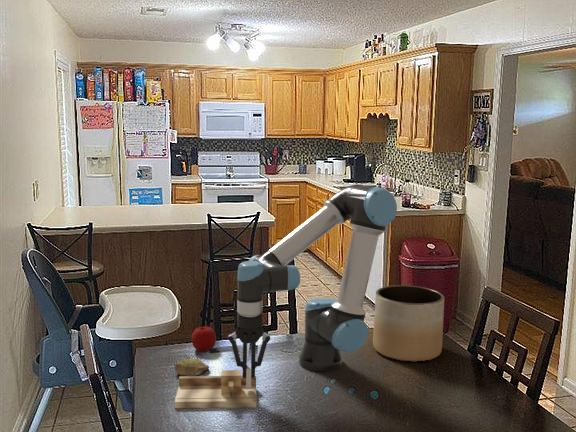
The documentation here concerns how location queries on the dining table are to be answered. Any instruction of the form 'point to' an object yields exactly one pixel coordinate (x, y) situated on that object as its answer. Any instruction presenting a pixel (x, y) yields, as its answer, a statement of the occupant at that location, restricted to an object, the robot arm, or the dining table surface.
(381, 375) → the dining table surface
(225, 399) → the board
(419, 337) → the planter
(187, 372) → the rock
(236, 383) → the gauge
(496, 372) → the dining table surface
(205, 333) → the apple
